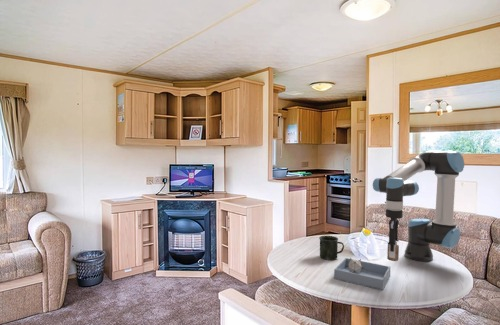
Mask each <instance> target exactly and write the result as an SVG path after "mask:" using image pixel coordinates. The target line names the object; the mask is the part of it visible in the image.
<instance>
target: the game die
mask: <svg viewBox="0 0 500 325" xmlns="http://www.w3.org/2000/svg"><path fill="white" fill-rule="evenodd" d="M349 259H351V260H350V262H349V264H348V265H347V266H348V268H349V271H350V272H351V273H356V274H360V273H361V271H362V268H363V267H362V265H361V262H360V261H362V259H361V258H360V259H354V260H353V258H351V257H350V258H349ZM363 269H364V268H363Z"/></svg>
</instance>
